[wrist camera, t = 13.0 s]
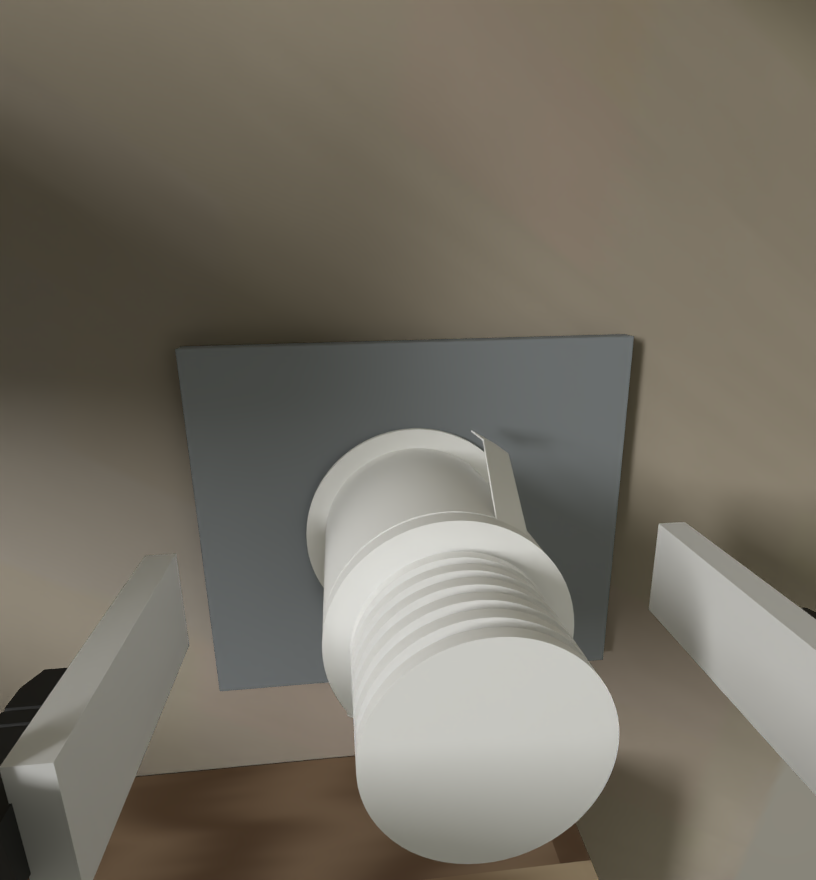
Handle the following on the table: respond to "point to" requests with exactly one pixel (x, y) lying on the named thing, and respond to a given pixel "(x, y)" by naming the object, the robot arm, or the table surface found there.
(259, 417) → the rubber mat
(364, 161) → the table surface
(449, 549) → the downlight
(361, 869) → the open wooden box
